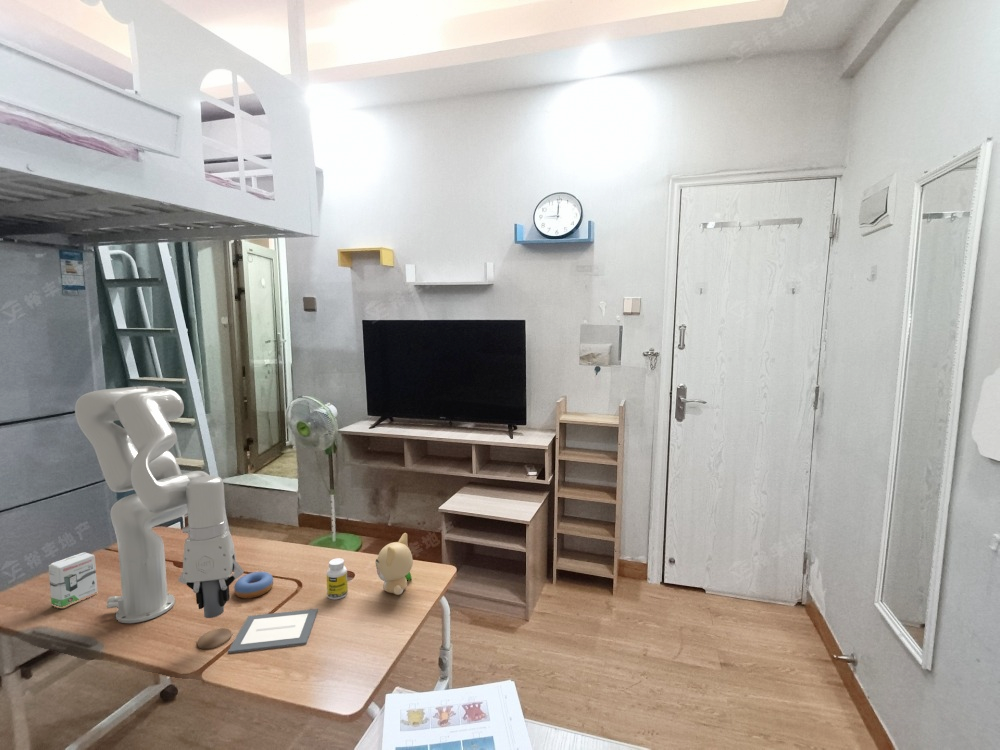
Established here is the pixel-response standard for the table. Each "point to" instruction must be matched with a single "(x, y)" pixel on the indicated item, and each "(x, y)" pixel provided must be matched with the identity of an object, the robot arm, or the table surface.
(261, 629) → the grey picture frame
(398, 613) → the table surface
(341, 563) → the supplement bottle
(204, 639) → the coaster
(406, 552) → the kitten
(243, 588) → the doughnut
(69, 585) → the ink box
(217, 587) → the marker
